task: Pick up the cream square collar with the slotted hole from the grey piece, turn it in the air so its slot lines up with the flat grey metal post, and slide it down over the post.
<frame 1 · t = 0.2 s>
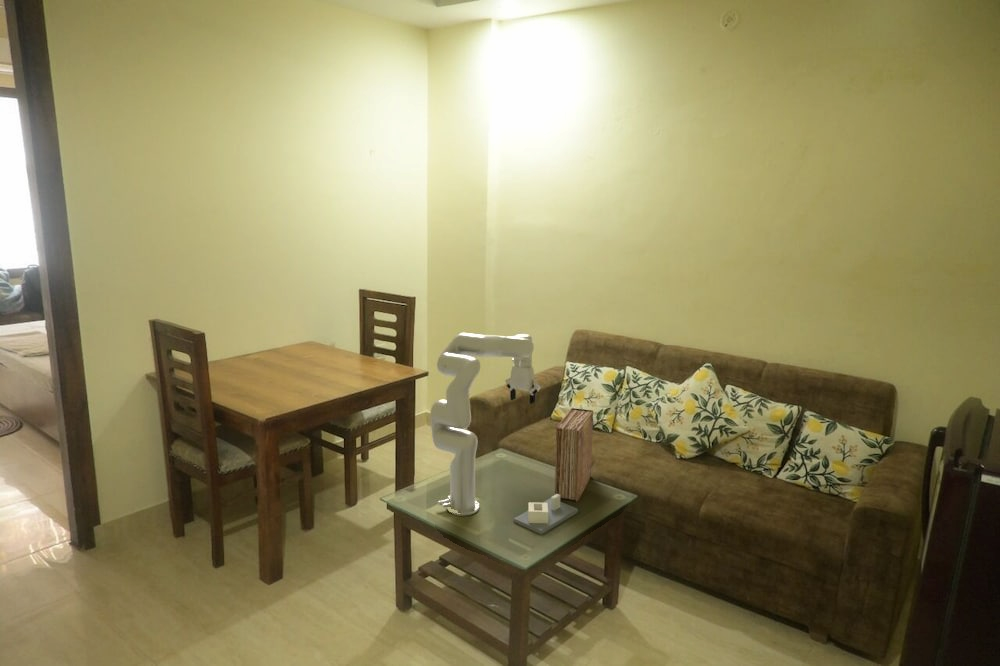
hand: (522, 401, 267), 31 cm above the table, tool pointing down, fingers open, 9 cm apart
book: (573, 487, 254), on the table
grey piece: (546, 517, 230), on the table
collar: (537, 518, 226), point 1 cm above the table, touching grey piece
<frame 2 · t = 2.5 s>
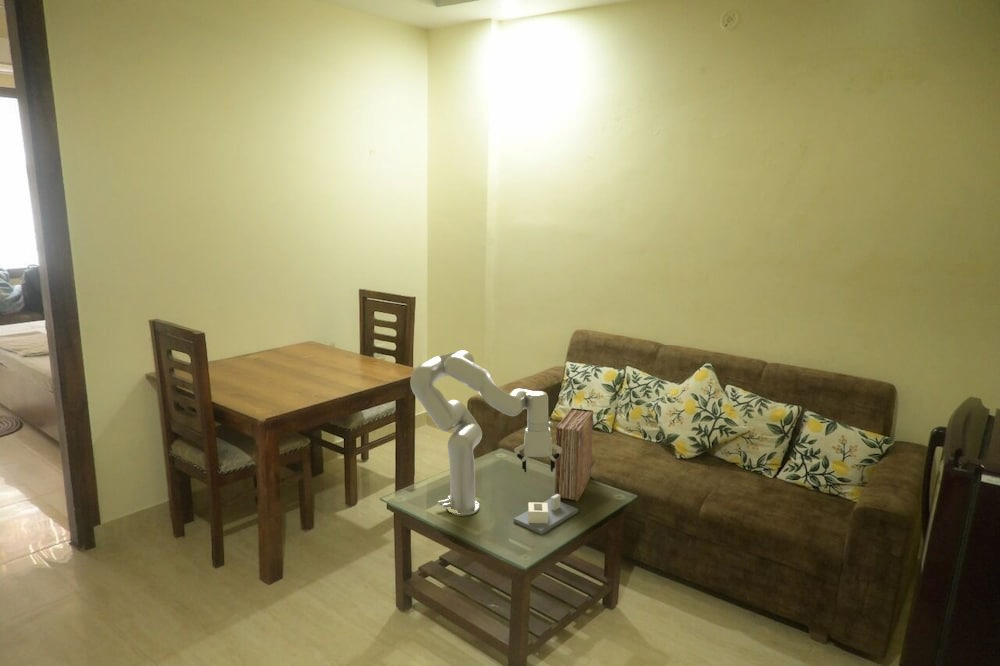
hand: (538, 470, 224), 20 cm above the table, tool pointing down, fingers open, 9 cm apart
nothing on the table moved.
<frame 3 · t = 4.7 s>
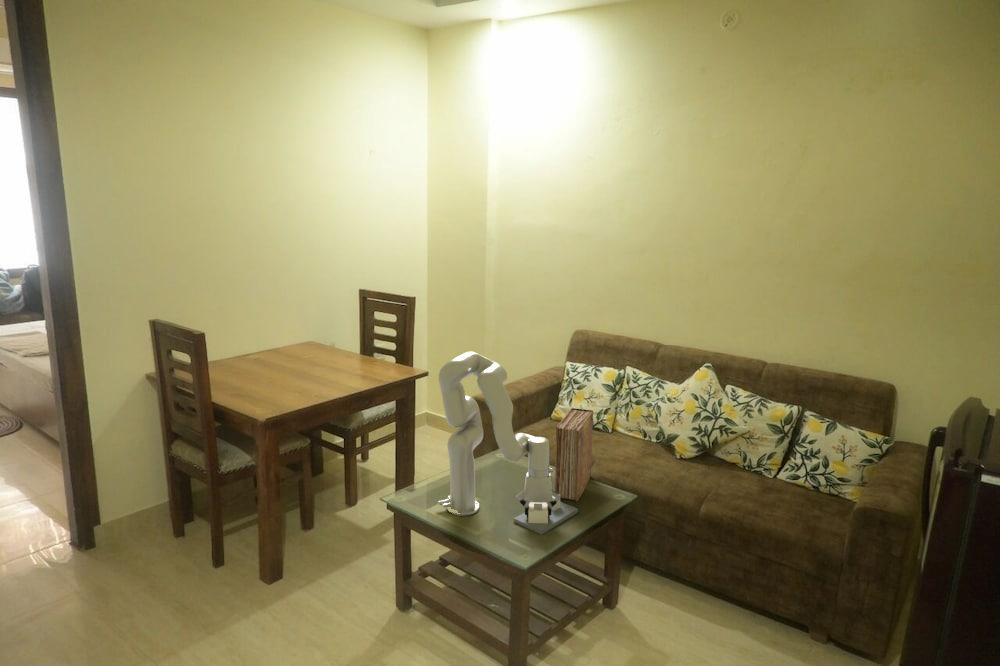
hand: (538, 516, 226), 2 cm above the table, tool pointing down, fingers closed on collar, 7 cm apart
collar: (537, 518, 226), point 1 cm above the table, touching gripper, grey piece
everything else where it was.
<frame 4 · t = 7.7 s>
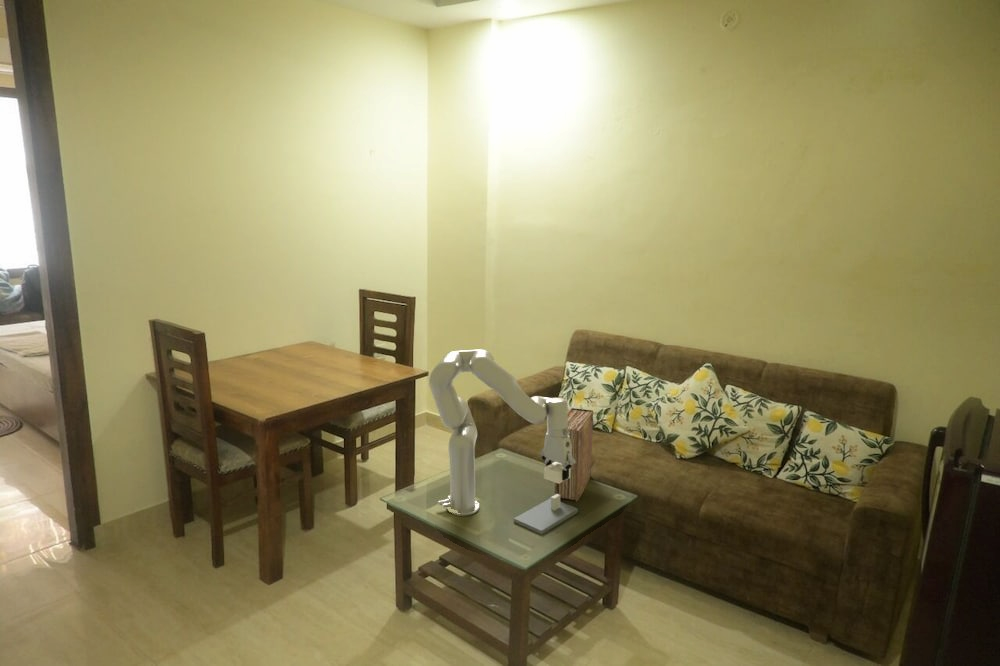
hand: (557, 476, 231), 15 cm above the table, tool pointing down, fingers closed on collar, 7 cm apart
collar: (557, 478, 231), point 14 cm above the table, touching gripper
everything else where it was.
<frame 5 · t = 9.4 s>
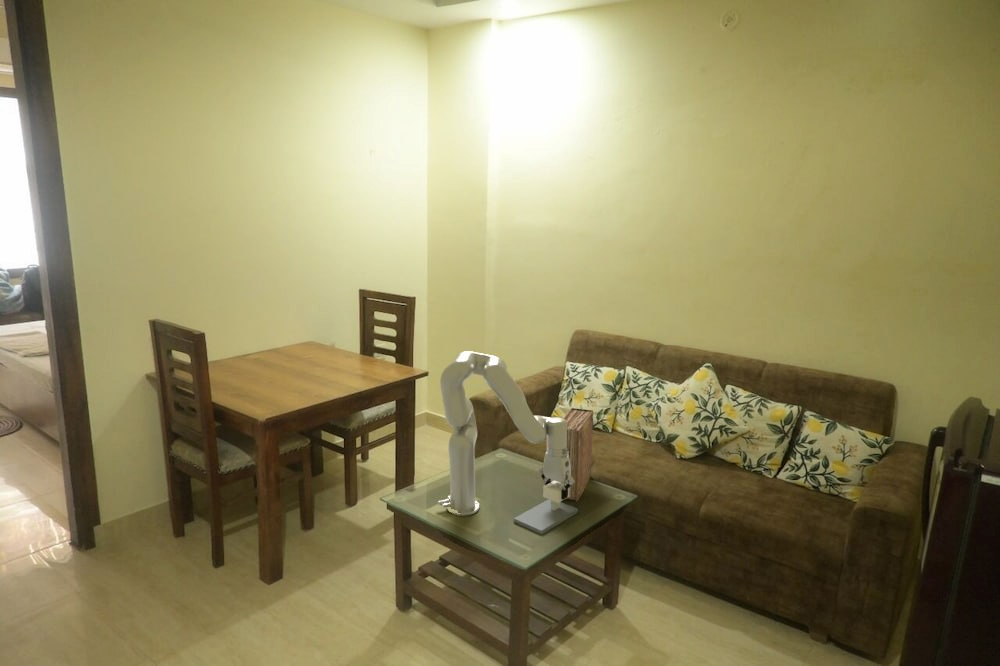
hand: (556, 494, 232), 7 cm above the table, tool pointing down, fingers closed on collar, 7 cm apart
collar: (556, 496, 232), point 6 cm above the table, touching gripper
everything else where it was.
when the fingers open (4 cm above the table, at t = 10.6 s): collar drops 1 cm, resting on grey piece.
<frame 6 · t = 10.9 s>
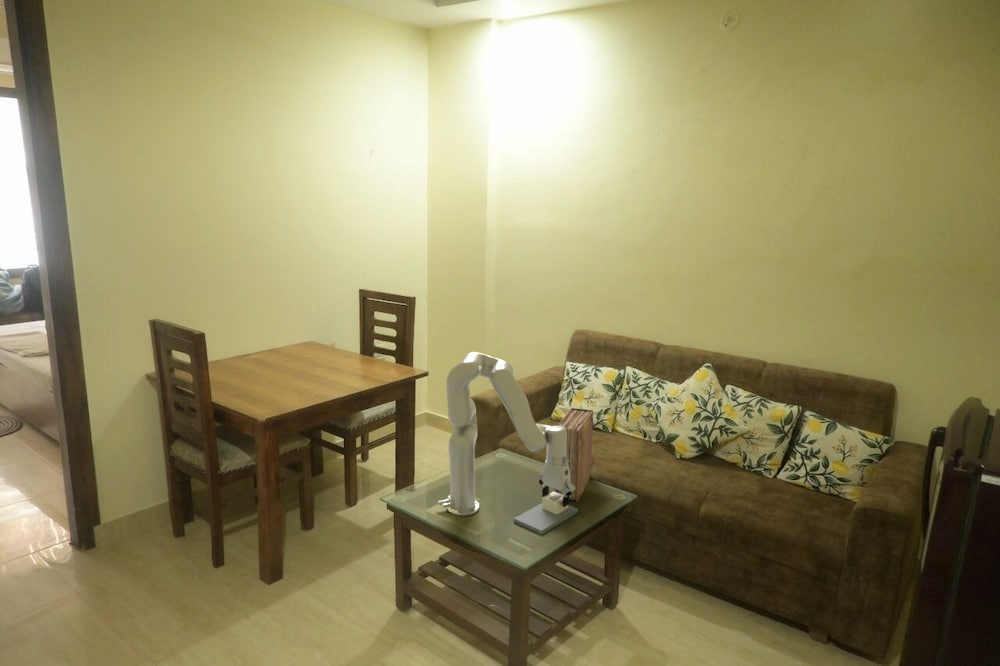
hand: (555, 501, 233), 4 cm above the table, tool pointing down, fingers open, 9 cm apart
collar: (555, 508, 233), point 1 cm above the table, touching grey piece
everything else where it was.
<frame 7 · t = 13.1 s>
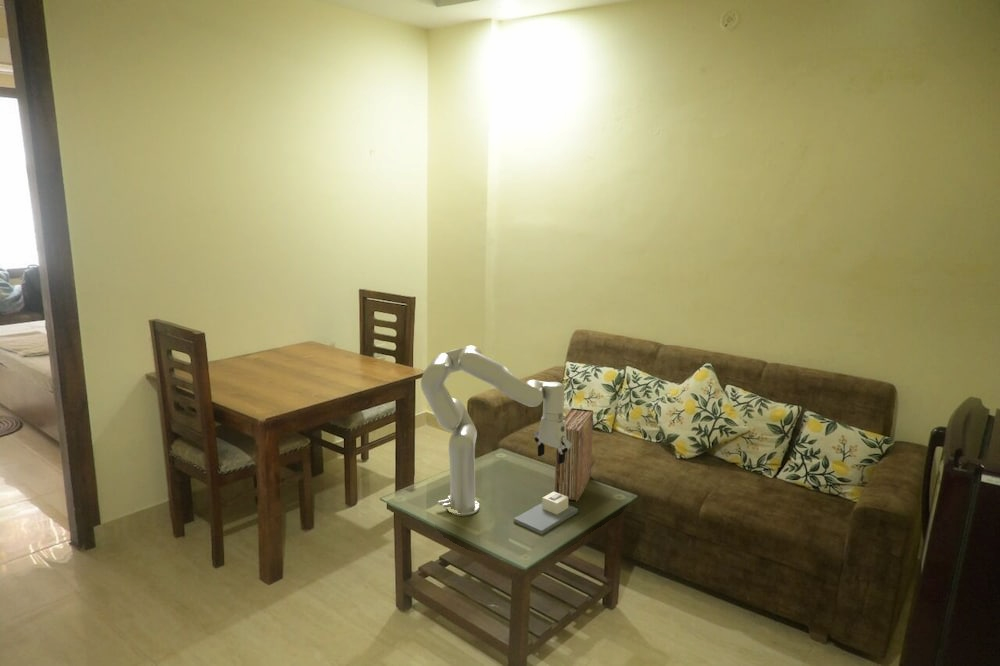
hand: (550, 459, 231), 21 cm above the table, tool pointing down, fingers open, 9 cm apart
nothing on the table moved.
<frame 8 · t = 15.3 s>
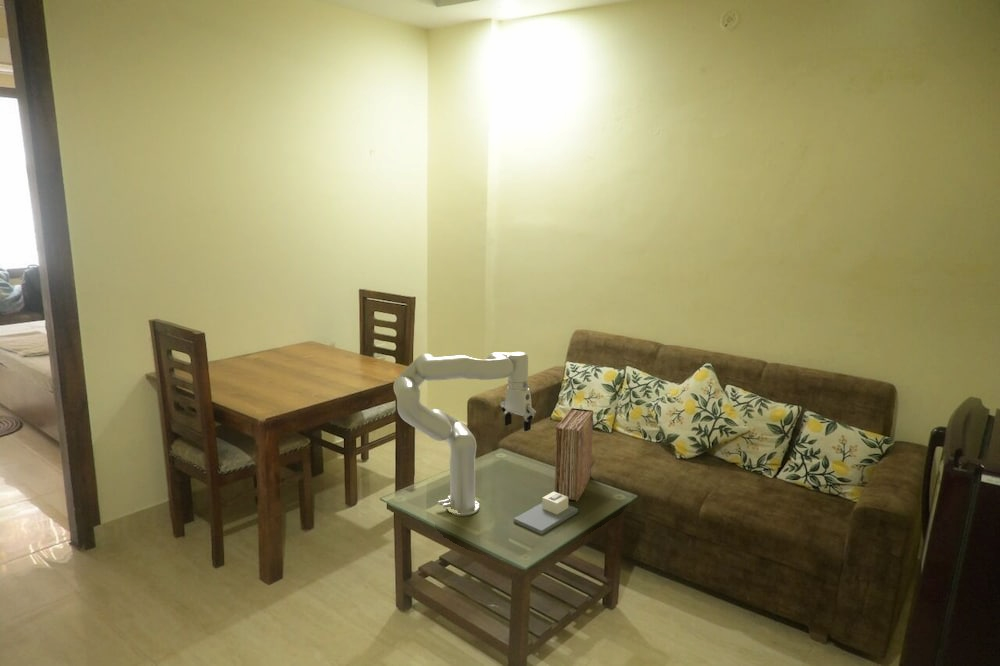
hand: (517, 427, 237), 30 cm above the table, tool pointing down, fingers open, 9 cm apart
nothing on the table moved.
at the end: collar 0.1 cm from the target spot on the grey piece, point 1.5 cm above the grey piece's base; collar tilted 0°; the gripper is holding nothing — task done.
